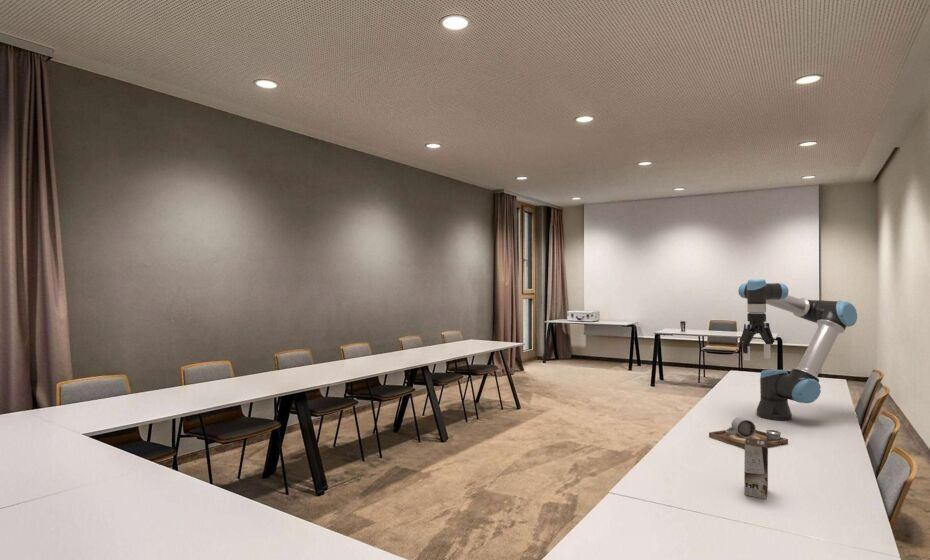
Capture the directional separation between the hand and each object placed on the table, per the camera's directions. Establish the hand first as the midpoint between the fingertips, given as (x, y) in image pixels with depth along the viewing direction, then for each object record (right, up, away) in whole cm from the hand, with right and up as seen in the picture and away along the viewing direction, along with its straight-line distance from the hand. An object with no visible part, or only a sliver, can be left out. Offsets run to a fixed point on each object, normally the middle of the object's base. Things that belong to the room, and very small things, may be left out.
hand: (757, 359), depth 240 cm
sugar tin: (-6, -31, -22) cm, 39 cm away
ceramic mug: (-16, -30, -16) cm, 38 cm away
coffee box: (-41, -32, -72) cm, 89 cm away
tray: (-15, -31, -19) cm, 39 cm away
